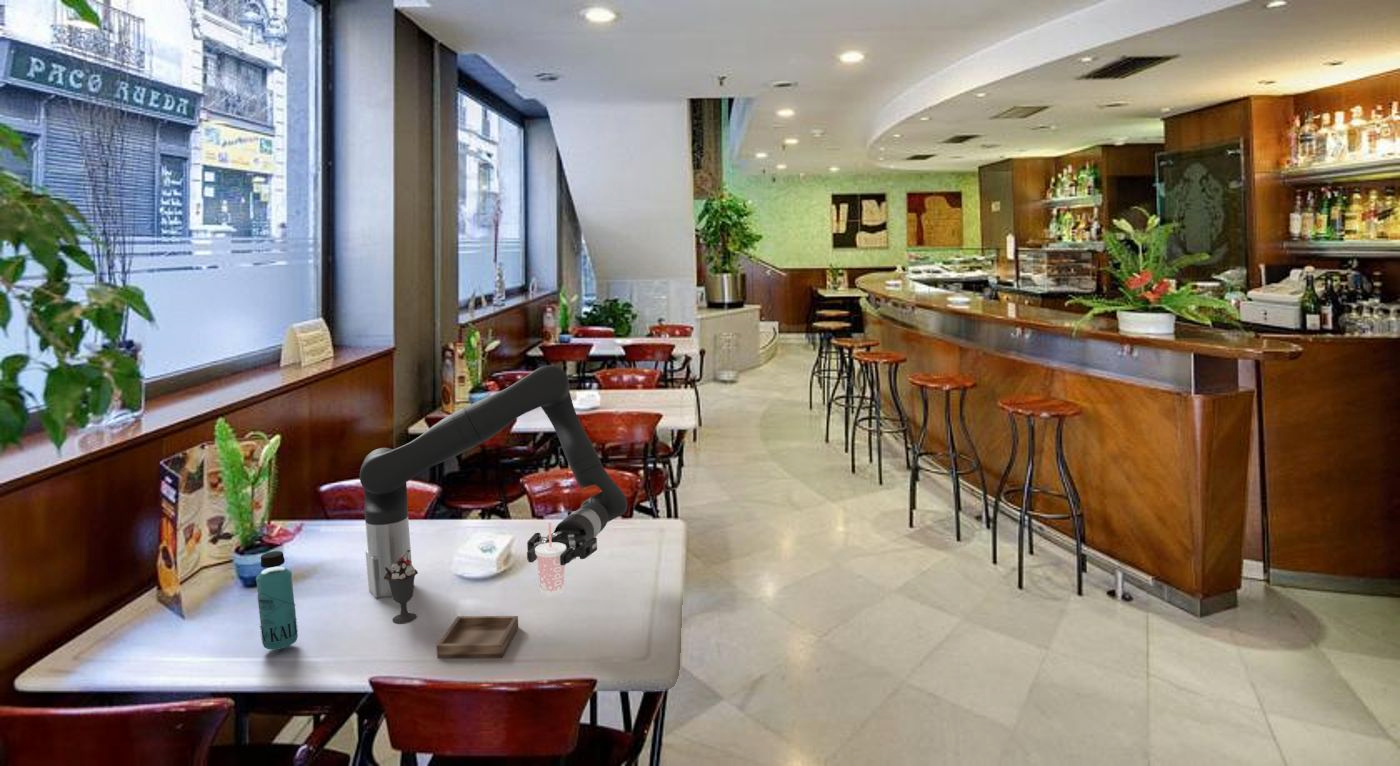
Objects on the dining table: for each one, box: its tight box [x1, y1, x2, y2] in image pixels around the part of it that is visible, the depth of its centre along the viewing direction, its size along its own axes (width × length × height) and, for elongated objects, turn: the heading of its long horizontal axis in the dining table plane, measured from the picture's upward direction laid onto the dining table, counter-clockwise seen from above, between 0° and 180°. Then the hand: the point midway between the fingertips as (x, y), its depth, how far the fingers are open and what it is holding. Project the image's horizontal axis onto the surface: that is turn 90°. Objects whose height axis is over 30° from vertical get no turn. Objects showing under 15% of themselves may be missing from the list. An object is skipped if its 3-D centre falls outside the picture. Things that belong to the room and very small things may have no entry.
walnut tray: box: [436, 615, 519, 659], centre depth 159 cm, size 13×13×3 cm
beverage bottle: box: [255, 550, 299, 650], centre depth 156 cm, size 6×7×20 cm
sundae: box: [384, 550, 419, 624], centre depth 169 cm, size 7×7×15 cm
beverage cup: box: [535, 522, 566, 597], centre depth 157 cm, size 6×6×14 cm
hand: (545, 559), depth 154 cm, fingers closed on beverage cup, 6 cm apart
